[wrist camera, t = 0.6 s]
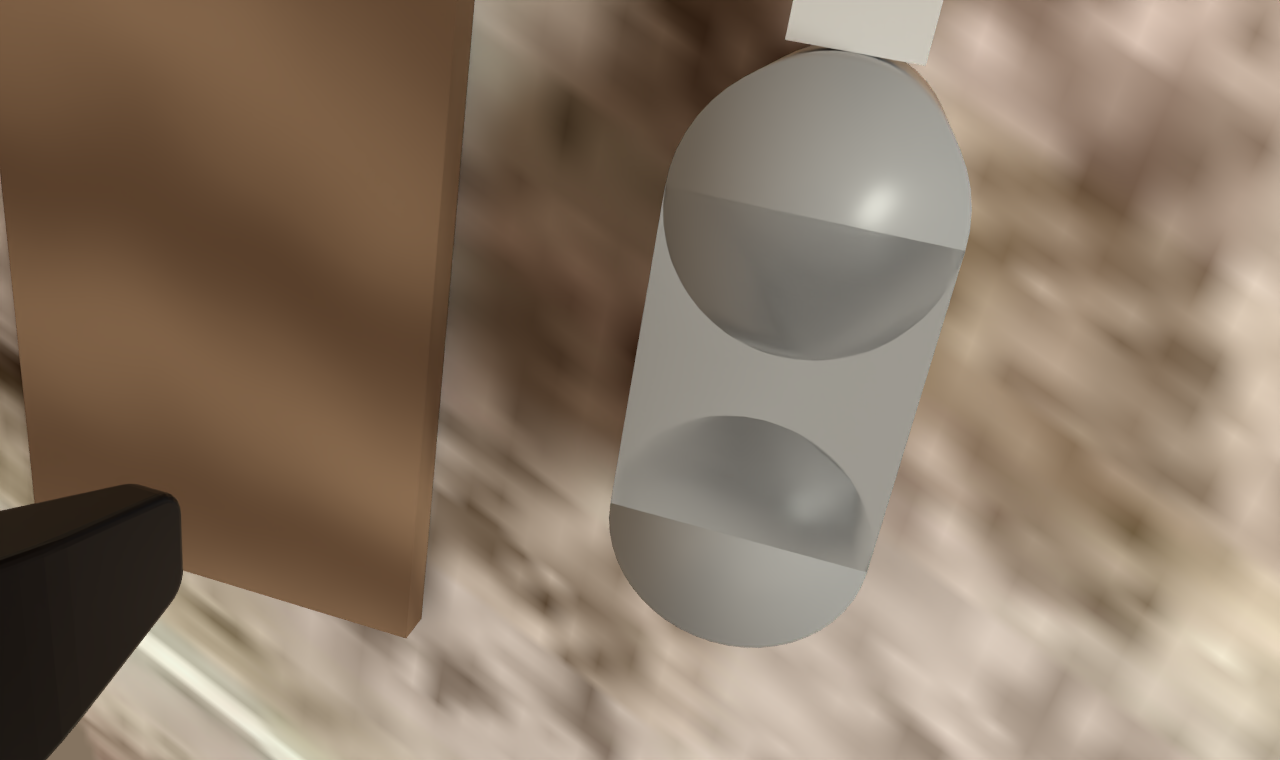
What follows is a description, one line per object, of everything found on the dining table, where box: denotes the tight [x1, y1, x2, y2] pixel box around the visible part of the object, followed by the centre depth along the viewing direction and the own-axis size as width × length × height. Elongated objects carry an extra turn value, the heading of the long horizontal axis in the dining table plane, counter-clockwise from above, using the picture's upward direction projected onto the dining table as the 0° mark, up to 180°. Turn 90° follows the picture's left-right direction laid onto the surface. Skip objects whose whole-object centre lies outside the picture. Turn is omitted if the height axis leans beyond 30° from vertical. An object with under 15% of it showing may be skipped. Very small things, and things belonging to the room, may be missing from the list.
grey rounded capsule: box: [609, 0, 972, 648], centre depth 16 cm, size 11×4×5 cm, turn 170°
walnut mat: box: [0, 0, 475, 638], centre depth 21 cm, size 16×10×1 cm, turn 170°
